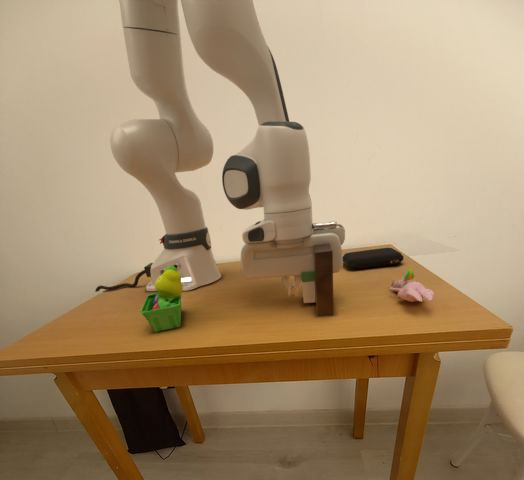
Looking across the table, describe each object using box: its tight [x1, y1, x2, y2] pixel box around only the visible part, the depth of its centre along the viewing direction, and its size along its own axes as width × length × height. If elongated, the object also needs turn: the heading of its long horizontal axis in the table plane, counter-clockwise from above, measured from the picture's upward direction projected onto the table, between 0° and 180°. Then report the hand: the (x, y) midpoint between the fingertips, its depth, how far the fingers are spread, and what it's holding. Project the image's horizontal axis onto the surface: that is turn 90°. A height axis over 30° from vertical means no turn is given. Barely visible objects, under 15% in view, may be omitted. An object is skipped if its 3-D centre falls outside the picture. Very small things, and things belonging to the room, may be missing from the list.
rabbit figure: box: [389, 268, 435, 303], centre depth 56 cm, size 6×6×15 cm
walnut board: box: [314, 244, 334, 317], centre depth 60 cm, size 3×16×12 cm, turn 174°
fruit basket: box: [140, 266, 183, 333], centre depth 61 cm, size 11×9×11 cm
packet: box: [301, 271, 316, 304], centre depth 61 cm, size 6×5×7 cm
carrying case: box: [342, 247, 405, 271], centre depth 79 cm, size 11×3×15 cm
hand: (293, 295), depth 63 cm, fingers closed
